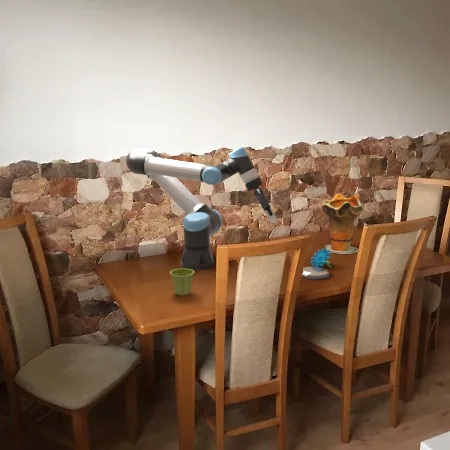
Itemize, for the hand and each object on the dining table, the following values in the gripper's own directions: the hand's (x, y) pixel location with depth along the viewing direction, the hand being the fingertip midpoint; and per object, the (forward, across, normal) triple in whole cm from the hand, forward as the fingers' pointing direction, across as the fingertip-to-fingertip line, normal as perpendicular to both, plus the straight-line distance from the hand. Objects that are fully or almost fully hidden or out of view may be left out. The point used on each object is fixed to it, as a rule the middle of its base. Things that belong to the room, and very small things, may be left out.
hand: (273, 221), depth 235 cm
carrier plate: (+27, -13, -4) cm, 31 cm away
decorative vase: (+31, +26, -24) cm, 47 cm away
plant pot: (+5, -34, +47) cm, 58 cm away
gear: (+28, -1, -9) cm, 30 cm away
